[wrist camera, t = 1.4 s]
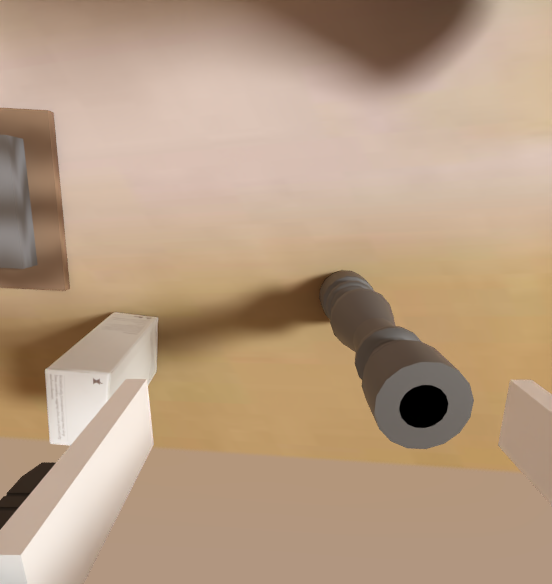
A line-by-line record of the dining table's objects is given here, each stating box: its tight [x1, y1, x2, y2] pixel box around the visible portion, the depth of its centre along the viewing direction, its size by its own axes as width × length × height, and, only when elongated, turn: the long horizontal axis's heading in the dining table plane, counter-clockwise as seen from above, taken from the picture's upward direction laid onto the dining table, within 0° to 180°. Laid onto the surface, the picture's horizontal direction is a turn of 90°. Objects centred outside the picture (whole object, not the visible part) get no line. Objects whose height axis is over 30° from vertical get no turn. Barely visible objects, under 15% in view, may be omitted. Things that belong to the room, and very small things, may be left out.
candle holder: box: [319, 270, 474, 449], centre depth 33 cm, size 6×6×25 cm
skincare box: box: [45, 312, 158, 445], centre depth 39 cm, size 8×6×15 cm
